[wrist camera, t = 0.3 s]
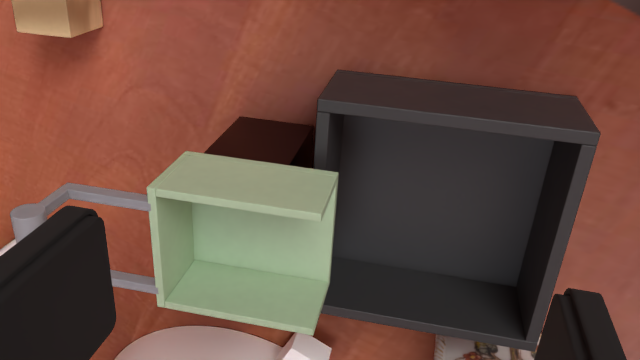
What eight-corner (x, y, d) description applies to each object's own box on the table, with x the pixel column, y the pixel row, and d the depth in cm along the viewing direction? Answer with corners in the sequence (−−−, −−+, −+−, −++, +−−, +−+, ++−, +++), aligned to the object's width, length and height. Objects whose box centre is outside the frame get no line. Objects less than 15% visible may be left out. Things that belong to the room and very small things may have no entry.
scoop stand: (240, 199, 45) (202, 252, 38) (239, 116, 42) (198, 158, 35) (309, 210, 44) (283, 266, 37) (314, 125, 41) (286, 170, 34)
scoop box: (112, 245, 39) (28, 330, 31) (98, 138, 35) (-1, 203, 28) (330, 283, 37) (297, 385, 29) (338, 171, 33) (304, 254, 25)
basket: (337, 69, 39) (317, 98, 33) (577, 96, 36) (601, 133, 30) (323, 259, 46) (305, 310, 40) (523, 292, 43) (535, 352, 37)
